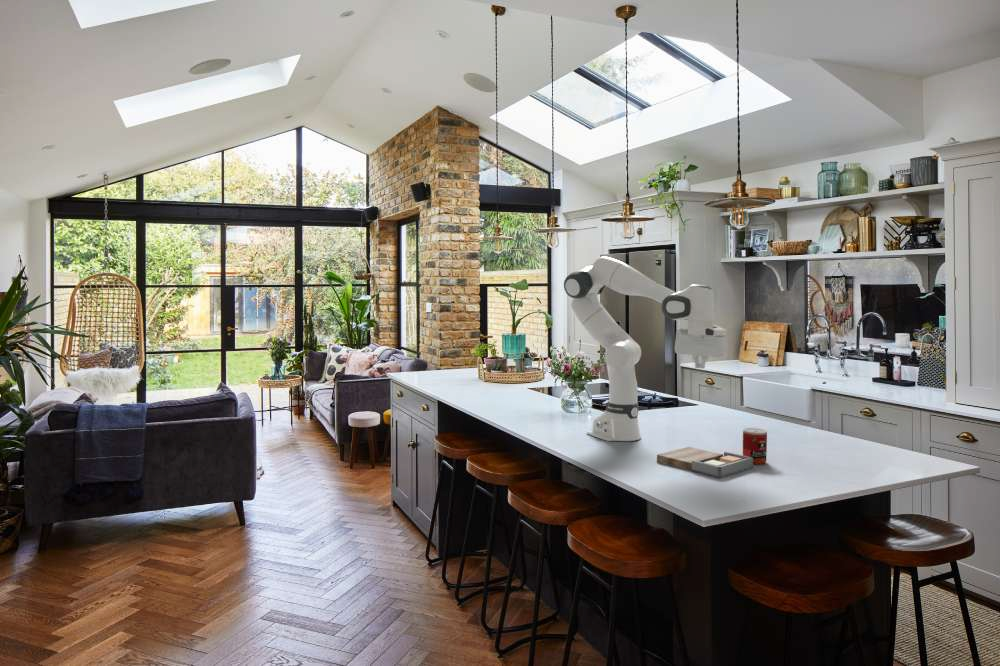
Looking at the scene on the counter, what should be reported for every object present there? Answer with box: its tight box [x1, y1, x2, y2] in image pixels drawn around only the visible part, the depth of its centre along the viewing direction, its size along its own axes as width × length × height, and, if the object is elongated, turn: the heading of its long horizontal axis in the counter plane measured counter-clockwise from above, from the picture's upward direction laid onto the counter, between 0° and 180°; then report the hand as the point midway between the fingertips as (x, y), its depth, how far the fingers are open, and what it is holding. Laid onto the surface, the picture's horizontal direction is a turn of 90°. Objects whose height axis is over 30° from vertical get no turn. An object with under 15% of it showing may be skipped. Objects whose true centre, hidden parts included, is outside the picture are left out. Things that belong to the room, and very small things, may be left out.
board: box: [656, 446, 724, 472], centre depth 227 cm, size 14×18×2 cm
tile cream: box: [704, 460, 726, 466], centre depth 214 cm, size 5×5×2 cm
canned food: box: [742, 427, 768, 466], centre depth 226 cm, size 8×8×11 cm
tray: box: [691, 451, 754, 479], centre depth 217 cm, size 10×19×4 cm, turn 128°
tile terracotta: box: [720, 455, 742, 464], centre depth 219 cm, size 5×5×2 cm
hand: (699, 368), depth 236 cm, fingers closed
